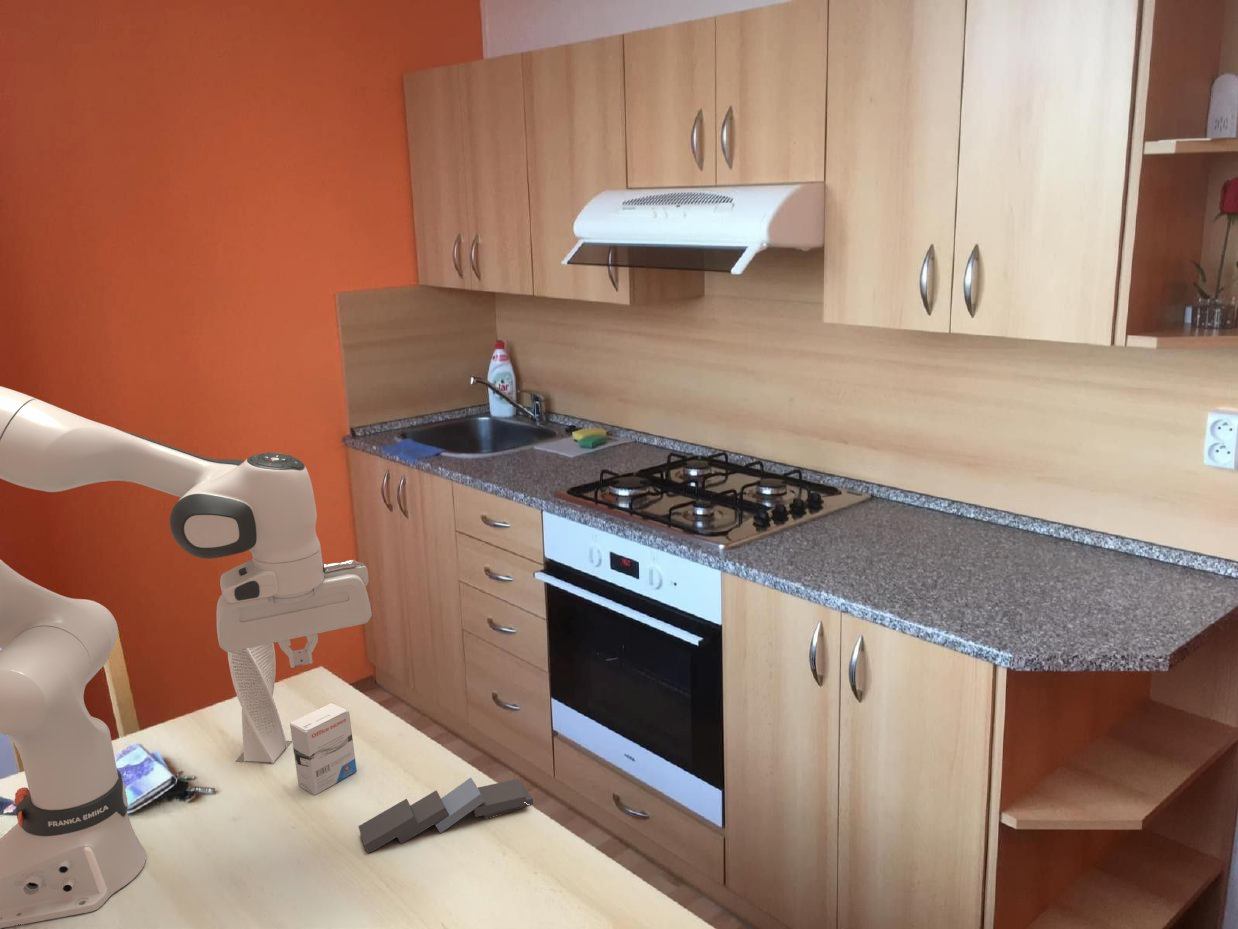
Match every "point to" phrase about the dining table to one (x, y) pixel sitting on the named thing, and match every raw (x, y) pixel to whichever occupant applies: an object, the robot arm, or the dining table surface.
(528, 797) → the domino
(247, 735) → the skyscraper
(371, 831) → the domino
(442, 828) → the domino
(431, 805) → the domino
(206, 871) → the dining table surface
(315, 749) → the ink box
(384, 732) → the dining table surface
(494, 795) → the domino
